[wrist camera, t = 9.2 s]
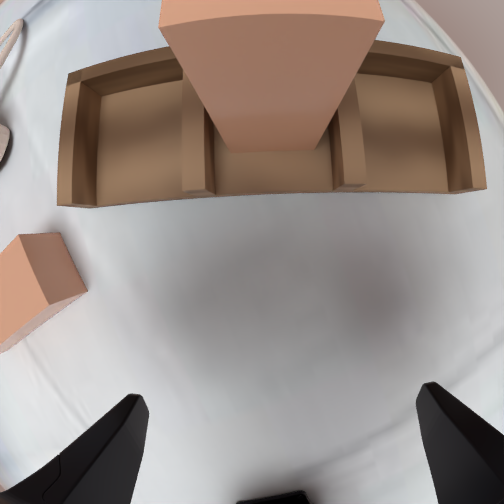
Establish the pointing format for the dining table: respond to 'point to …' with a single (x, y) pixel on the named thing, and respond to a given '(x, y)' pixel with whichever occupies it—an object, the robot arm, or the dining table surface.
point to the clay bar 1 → (34, 284)
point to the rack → (267, 162)
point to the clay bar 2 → (270, 63)
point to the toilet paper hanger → (0, 132)
